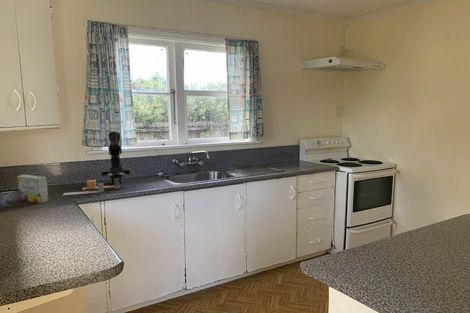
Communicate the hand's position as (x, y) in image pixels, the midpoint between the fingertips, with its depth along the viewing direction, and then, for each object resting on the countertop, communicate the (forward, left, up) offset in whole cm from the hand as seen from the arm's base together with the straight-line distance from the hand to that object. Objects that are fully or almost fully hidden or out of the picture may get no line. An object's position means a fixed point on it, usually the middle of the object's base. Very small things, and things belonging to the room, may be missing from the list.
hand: (117, 184), depth 231 cm
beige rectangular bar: (+10, 0, -2) cm, 11 cm away
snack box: (+46, +21, -2) cm, 51 cm away
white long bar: (+19, +13, -2) cm, 24 cm away
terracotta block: (+16, 0, -1) cm, 17 cm away
